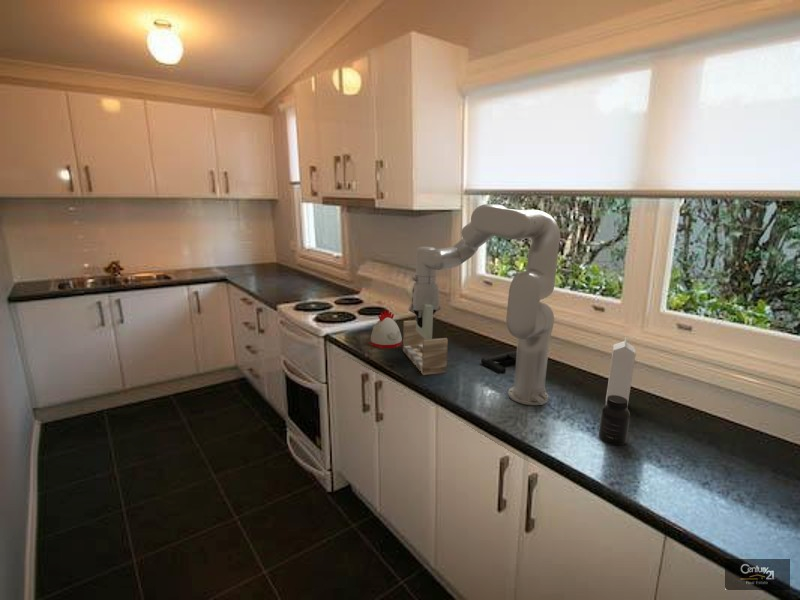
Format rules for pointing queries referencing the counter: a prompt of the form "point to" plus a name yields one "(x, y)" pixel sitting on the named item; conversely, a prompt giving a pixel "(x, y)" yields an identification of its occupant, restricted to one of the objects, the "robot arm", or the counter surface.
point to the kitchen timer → (386, 332)
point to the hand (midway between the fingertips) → (424, 325)
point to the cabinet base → (424, 350)
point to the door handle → (493, 361)
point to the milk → (621, 370)
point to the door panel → (426, 322)
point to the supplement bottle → (614, 421)
